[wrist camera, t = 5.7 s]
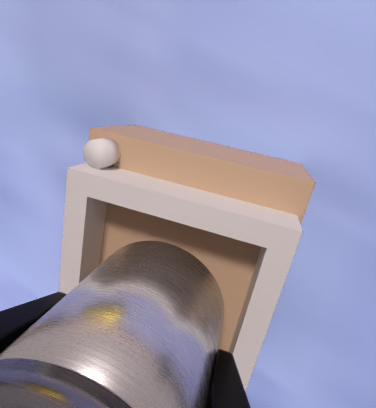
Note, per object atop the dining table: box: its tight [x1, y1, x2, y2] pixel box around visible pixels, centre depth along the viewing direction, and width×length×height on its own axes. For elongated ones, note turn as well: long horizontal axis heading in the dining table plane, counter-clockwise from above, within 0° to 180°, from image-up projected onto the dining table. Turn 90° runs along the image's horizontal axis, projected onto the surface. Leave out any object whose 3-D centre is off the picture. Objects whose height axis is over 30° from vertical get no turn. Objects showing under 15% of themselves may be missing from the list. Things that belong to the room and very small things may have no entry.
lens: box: [0, 241, 224, 408], centre depth 7 cm, size 5×5×6 cm
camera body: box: [59, 125, 316, 391], centre depth 13 cm, size 10×8×6 cm
